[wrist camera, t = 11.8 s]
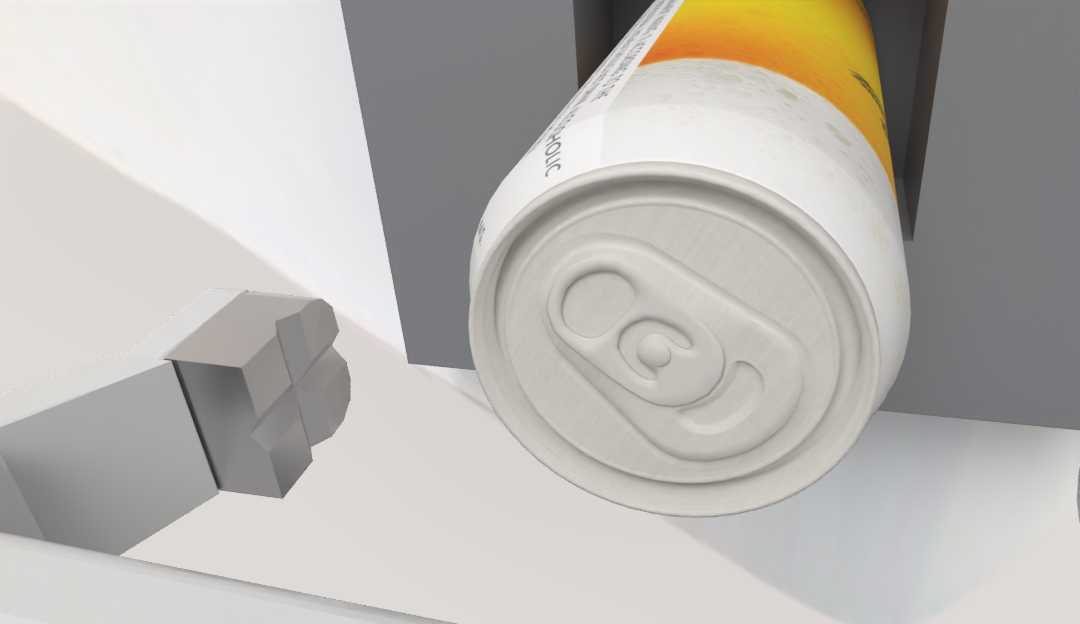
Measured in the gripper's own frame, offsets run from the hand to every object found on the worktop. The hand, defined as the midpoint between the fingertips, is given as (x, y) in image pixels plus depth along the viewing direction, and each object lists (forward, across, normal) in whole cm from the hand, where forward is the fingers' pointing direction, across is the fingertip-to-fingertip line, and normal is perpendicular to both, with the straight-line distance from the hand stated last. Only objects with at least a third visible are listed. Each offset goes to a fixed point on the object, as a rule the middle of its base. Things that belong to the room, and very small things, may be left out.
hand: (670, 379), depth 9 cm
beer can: (+17, +1, +1) cm, 17 cm away
